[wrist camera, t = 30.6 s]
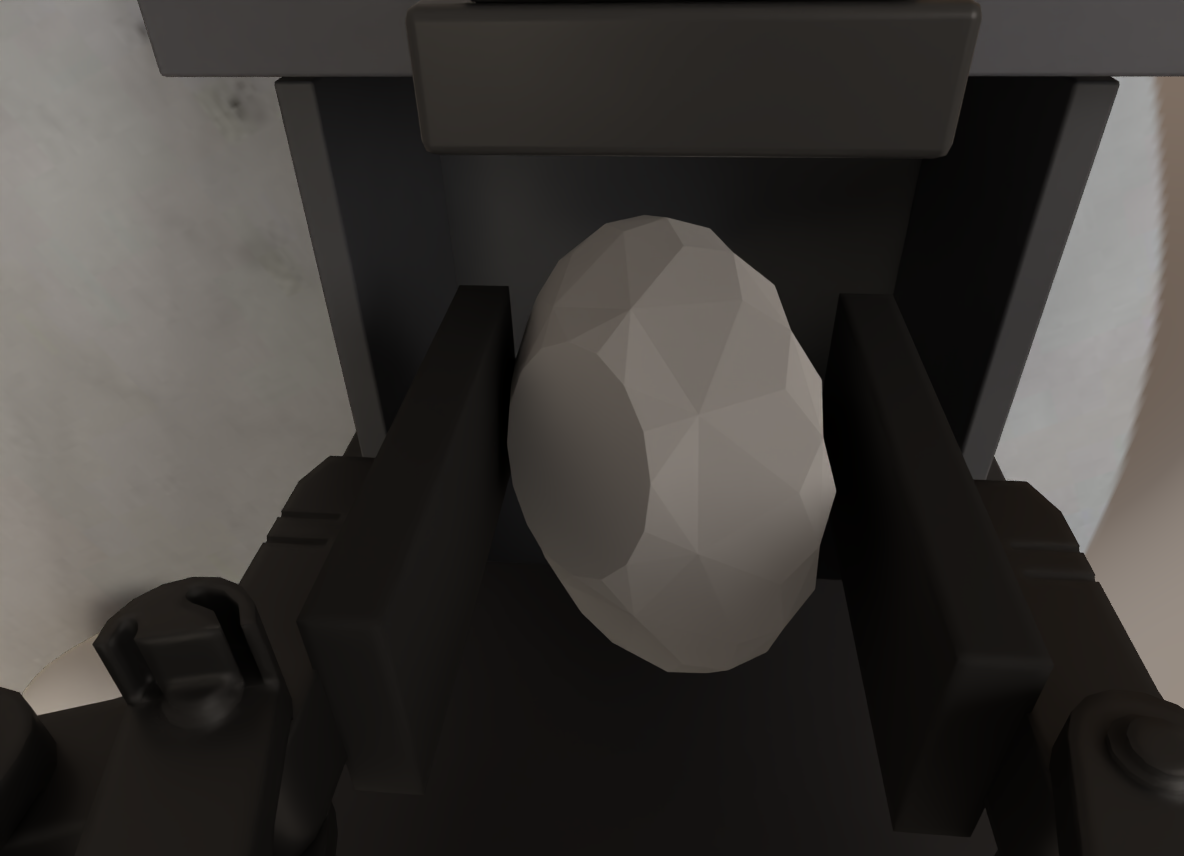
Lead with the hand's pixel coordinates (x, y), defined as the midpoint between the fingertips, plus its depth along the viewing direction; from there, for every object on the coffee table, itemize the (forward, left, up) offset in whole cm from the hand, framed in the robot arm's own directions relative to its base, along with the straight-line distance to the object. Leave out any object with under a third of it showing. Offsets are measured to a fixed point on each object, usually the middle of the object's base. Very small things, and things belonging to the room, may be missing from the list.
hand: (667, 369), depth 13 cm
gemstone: (0, 0, 0) cm, 0 cm away
